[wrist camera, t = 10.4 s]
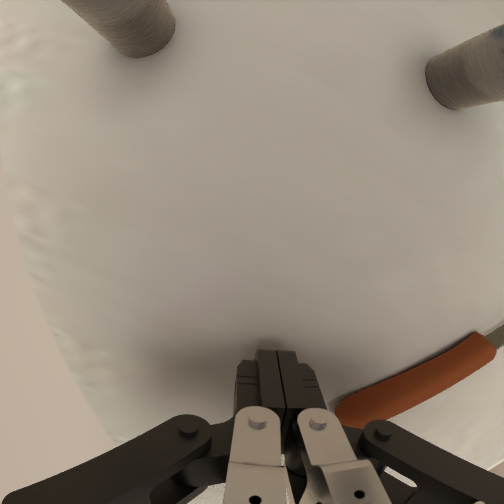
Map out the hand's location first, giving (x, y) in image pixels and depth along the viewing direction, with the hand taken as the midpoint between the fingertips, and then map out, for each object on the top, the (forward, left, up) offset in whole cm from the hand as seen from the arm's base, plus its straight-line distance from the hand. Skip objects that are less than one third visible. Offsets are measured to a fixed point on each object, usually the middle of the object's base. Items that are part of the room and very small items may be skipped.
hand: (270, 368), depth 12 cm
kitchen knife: (-11, 0, -2) cm, 11 cm away
